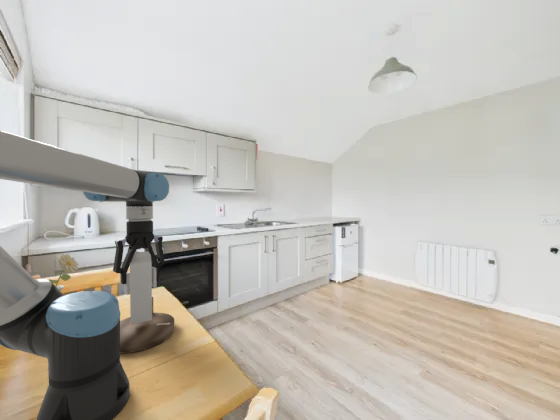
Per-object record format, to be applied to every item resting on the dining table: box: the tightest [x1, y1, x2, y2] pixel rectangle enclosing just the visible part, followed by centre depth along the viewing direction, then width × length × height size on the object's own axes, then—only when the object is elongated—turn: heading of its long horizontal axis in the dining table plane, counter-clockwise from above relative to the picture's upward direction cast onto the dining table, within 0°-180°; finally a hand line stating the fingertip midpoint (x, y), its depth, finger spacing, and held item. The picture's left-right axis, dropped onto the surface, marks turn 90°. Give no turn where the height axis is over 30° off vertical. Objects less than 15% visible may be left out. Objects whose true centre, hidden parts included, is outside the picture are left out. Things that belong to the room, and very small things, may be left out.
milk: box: [129, 251, 153, 325], centre depth 79 cm, size 6×6×22 cm
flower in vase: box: [48, 253, 79, 292], centre depth 86 cm, size 13×11×25 cm
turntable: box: [120, 296, 175, 354], centre depth 80 cm, size 20×20×9 cm
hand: (140, 289), depth 79 cm, fingers closed on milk, 7 cm apart
